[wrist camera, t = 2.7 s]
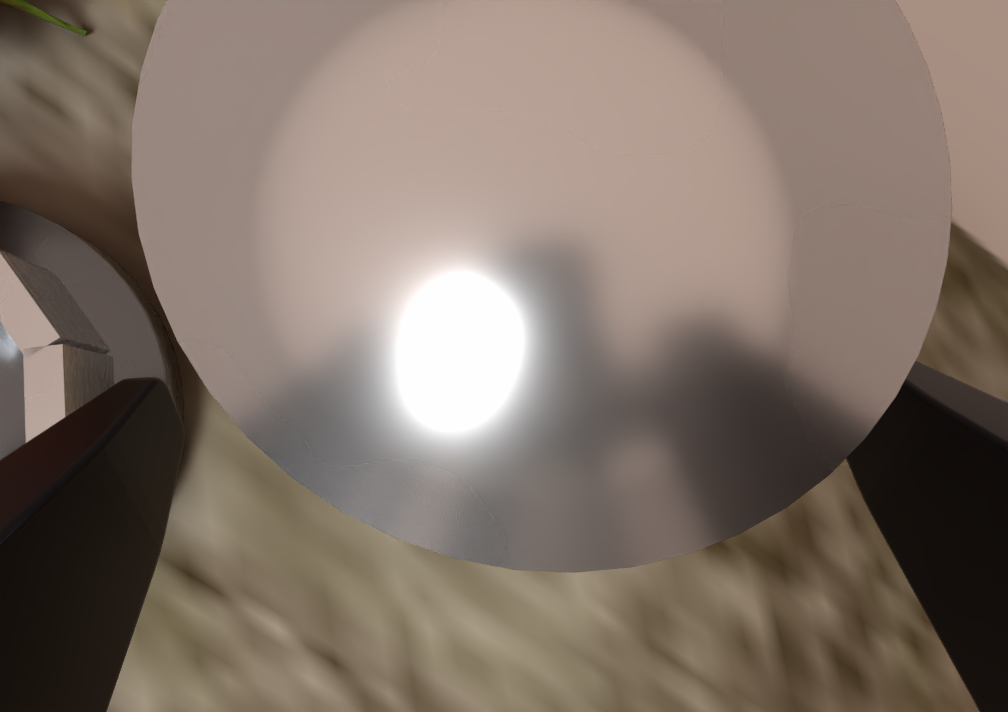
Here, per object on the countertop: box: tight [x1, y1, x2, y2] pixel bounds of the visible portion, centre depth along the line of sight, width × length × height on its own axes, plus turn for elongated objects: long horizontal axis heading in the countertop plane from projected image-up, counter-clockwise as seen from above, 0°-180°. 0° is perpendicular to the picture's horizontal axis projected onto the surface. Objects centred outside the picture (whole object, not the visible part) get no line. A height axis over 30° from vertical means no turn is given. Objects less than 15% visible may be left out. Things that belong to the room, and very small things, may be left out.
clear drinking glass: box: [131, 0, 952, 572], centre depth 10 cm, size 6×6×13 cm
